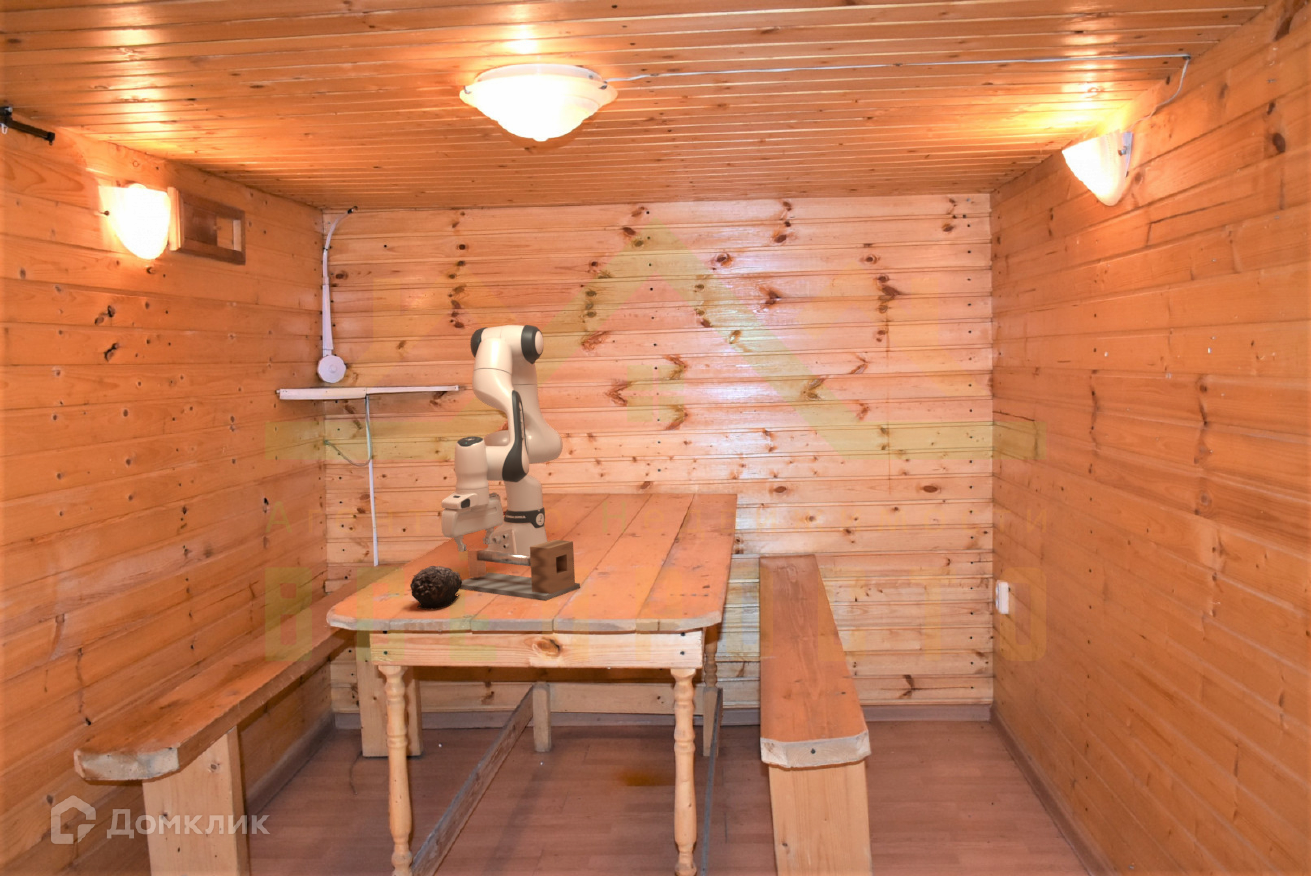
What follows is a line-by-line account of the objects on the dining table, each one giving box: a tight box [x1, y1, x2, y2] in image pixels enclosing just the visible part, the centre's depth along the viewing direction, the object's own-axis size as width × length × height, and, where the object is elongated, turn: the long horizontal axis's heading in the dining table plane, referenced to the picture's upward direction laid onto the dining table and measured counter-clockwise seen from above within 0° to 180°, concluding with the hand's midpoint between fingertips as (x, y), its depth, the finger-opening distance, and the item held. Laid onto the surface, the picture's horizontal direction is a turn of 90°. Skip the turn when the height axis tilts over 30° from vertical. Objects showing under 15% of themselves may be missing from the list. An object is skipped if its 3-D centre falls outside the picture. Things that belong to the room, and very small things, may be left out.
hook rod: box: [467, 547, 531, 578], centre depth 247 cm, size 21×3×7 cm, turn 57°
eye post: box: [459, 539, 581, 601], centre depth 245 cm, size 32×14×13 cm, turn 57°
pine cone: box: [409, 565, 463, 610], centre depth 233 cm, size 10×18×10 cm, turn 177°
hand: (475, 547), depth 253 cm, fingers open, 8 cm apart
